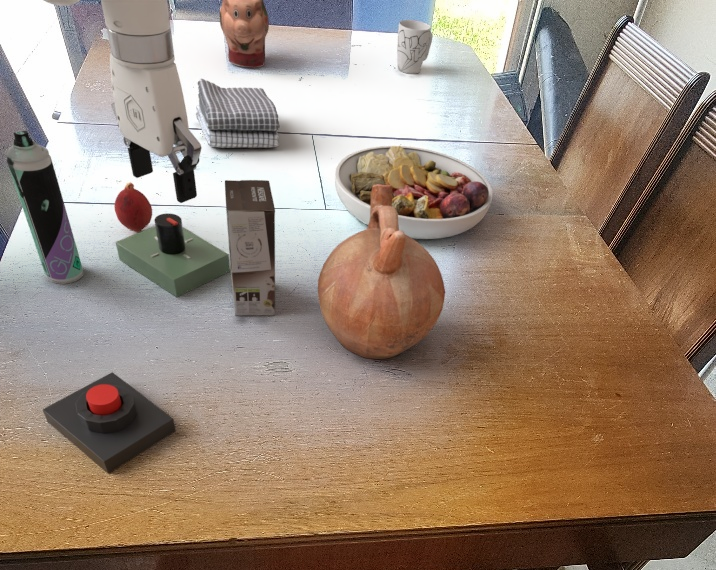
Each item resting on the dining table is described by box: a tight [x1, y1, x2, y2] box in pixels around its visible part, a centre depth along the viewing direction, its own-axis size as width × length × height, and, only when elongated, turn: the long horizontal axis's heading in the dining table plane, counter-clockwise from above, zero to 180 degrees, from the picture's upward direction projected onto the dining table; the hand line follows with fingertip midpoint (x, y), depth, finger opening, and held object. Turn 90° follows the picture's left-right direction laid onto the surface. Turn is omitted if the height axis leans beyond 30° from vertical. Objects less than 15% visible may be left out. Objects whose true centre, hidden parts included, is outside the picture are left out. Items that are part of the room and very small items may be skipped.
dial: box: [153, 212, 185, 254], centre depth 93 cm, size 4×4×5 cm
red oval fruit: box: [113, 181, 153, 233], centre depth 100 cm, size 6×6×8 cm
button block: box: [42, 371, 177, 475], centre depth 74 cm, size 12×10×4 cm
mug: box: [396, 19, 433, 75], centre depth 163 cm, size 11×8×10 cm
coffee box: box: [224, 179, 276, 316], centre depth 88 cm, size 9×6×16 cm
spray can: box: [4, 130, 84, 285], centre depth 86 cm, size 6×6×20 cm
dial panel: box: [115, 225, 231, 298], centre depth 96 cm, size 14×11×3 cm
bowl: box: [334, 145, 493, 240], centre depth 115 cm, size 30×30×8 cm
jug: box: [317, 184, 446, 360], centre depth 84 cm, size 18×18×20 cm
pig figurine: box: [219, 0, 270, 68], centre depth 152 cm, size 20×12×14 cm, turn 10°
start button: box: [86, 384, 121, 416], centre depth 72 cm, size 4×4×2 cm
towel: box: [195, 78, 280, 149], centre depth 127 cm, size 15×18×8 cm
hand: (164, 186), depth 88 cm, fingers open, 9 cm apart
